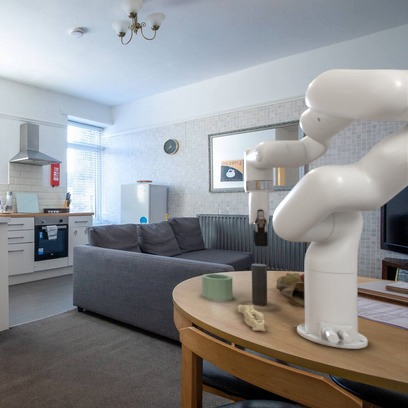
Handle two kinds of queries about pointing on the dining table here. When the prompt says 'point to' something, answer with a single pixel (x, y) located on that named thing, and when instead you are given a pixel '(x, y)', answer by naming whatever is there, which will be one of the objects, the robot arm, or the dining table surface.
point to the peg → (259, 284)
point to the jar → (217, 286)
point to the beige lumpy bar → (252, 317)
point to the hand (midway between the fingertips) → (260, 244)
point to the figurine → (292, 287)
